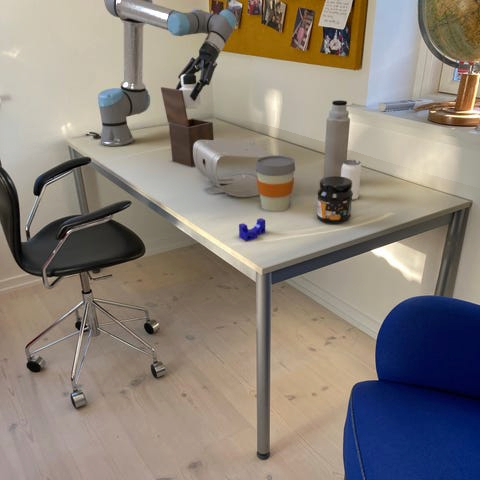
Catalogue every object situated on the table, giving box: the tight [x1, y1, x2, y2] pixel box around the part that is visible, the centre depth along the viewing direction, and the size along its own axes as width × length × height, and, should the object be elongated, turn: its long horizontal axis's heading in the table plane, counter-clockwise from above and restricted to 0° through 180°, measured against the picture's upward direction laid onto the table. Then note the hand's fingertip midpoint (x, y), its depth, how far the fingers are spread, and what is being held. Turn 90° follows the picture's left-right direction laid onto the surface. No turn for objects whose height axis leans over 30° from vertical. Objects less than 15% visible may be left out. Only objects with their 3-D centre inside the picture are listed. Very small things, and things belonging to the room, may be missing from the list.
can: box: [341, 159, 362, 201], centre depth 174 cm, size 6×6×12 cm
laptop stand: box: [193, 139, 280, 198], centre depth 185 cm, size 26×24×16 cm
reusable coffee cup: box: [255, 155, 296, 212], centre depth 168 cm, size 12×13×15 cm
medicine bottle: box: [179, 74, 201, 110], centre depth 206 cm, size 7×7×12 cm
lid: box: [160, 86, 189, 127], centre depth 204 cm, size 14×13×1 cm
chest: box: [168, 117, 215, 168], centre depth 216 cm, size 13×13×15 cm
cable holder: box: [238, 217, 266, 242], centre depth 151 cm, size 8×4×4 cm, turn 124°
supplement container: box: [316, 176, 353, 225], centre depth 158 cm, size 10×10×12 cm
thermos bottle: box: [322, 99, 351, 179], centre depth 184 cm, size 8×8×28 cm
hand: (183, 97), depth 205 cm, fingers closed on medicine bottle, 10 cm apart
